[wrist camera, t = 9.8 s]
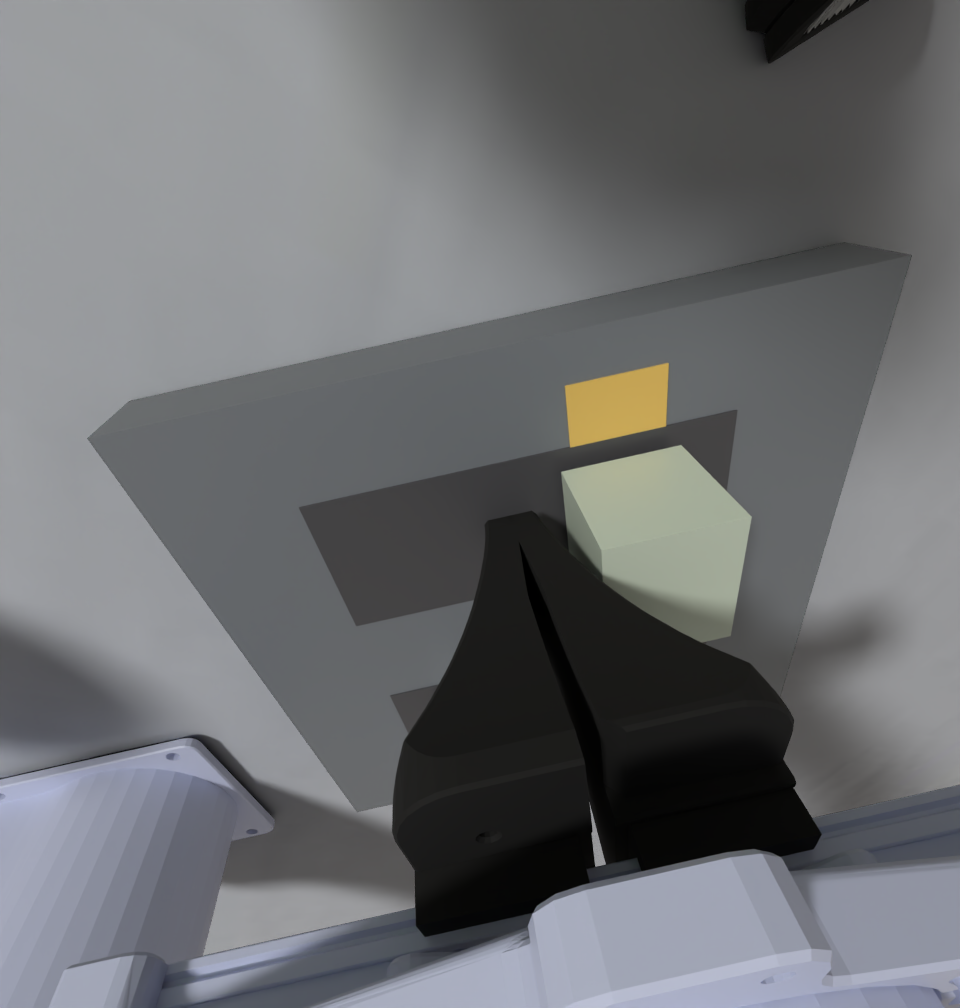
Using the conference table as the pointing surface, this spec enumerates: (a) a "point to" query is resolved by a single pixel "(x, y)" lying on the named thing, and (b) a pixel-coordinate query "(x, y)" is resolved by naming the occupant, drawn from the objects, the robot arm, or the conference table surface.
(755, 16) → the electric trimmer
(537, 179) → the conference table surface
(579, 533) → the tab sage
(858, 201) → the conference table surface
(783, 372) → the switch panel
